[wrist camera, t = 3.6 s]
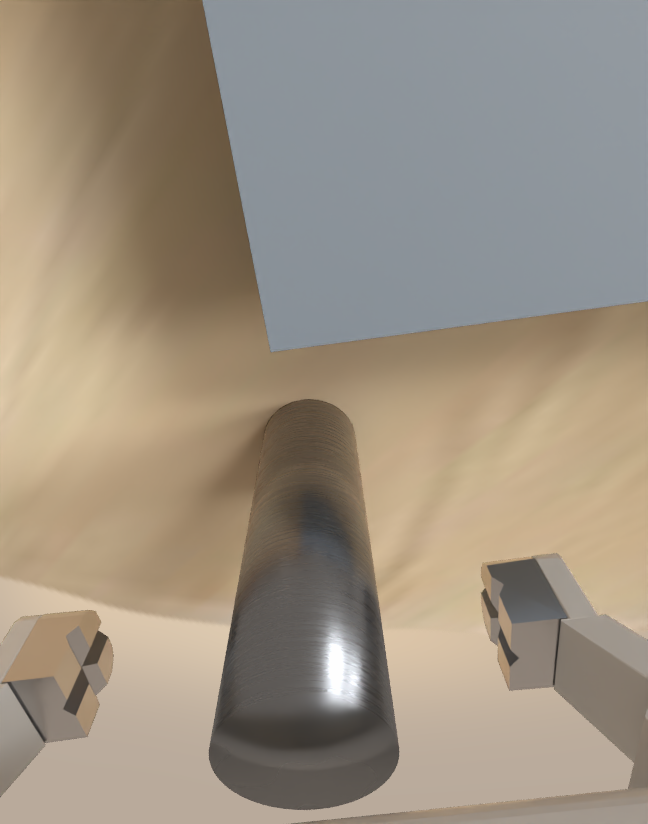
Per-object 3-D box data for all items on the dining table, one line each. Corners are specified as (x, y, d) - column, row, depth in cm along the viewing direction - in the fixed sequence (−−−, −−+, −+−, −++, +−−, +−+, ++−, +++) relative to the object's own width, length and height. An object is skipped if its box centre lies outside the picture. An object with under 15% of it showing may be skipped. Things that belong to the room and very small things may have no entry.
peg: (350, 393, 16) (392, 686, 8) (359, 473, 18) (405, 800, 9) (256, 406, 17) (188, 707, 8) (272, 483, 18) (231, 817, 9)
